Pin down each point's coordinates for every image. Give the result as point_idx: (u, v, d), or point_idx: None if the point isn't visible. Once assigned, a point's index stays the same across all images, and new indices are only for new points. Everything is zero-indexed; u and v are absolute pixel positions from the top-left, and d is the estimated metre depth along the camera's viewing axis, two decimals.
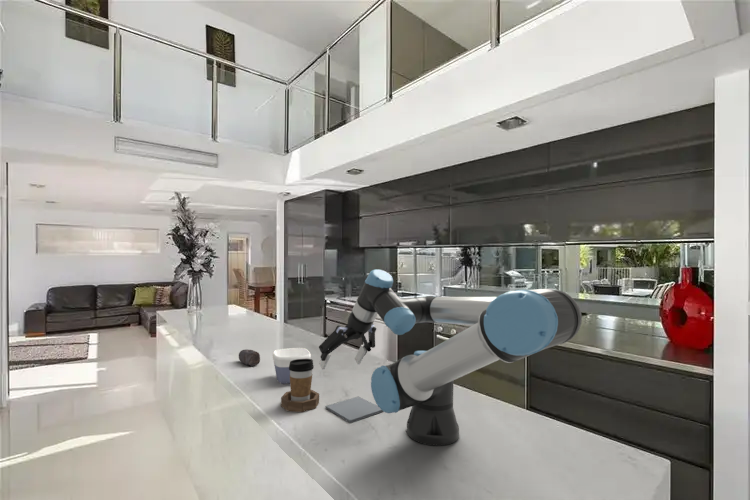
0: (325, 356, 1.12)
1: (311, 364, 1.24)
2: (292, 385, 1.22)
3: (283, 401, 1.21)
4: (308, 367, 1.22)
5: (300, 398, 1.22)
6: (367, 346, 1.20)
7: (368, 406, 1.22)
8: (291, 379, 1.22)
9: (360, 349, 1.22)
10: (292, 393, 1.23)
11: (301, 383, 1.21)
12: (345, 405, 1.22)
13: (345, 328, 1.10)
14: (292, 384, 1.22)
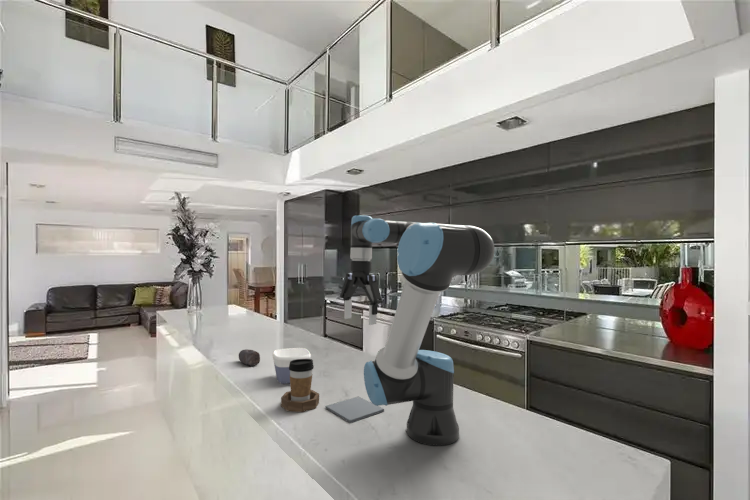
0: (345, 303, 1.32)
1: (311, 364, 1.24)
2: (292, 385, 1.22)
3: (283, 401, 1.21)
4: (308, 367, 1.22)
5: (300, 398, 1.22)
6: (370, 299, 1.21)
7: (368, 406, 1.22)
8: (291, 379, 1.22)
9: None
10: (292, 393, 1.23)
11: (301, 383, 1.21)
12: (345, 405, 1.22)
13: None
14: (292, 384, 1.22)
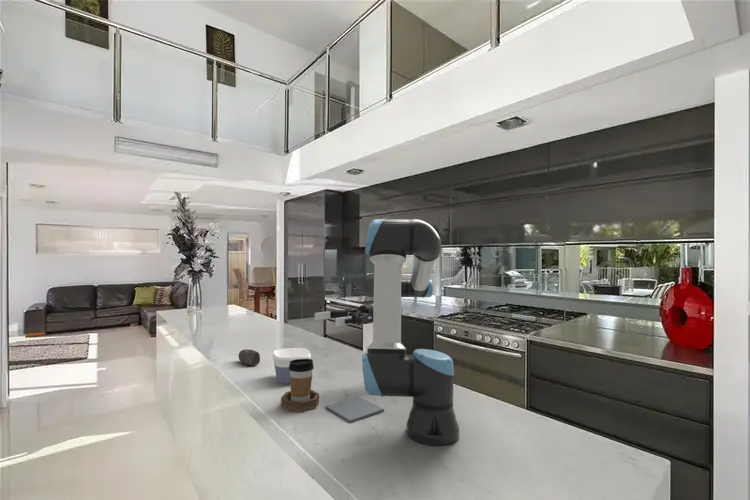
0: None
1: (311, 364, 1.24)
2: (292, 385, 1.22)
3: (283, 401, 1.21)
4: (308, 367, 1.22)
5: (300, 398, 1.22)
6: None
7: (368, 406, 1.22)
8: (291, 379, 1.22)
9: None
10: (292, 393, 1.23)
11: (301, 383, 1.21)
12: (345, 405, 1.22)
13: None
14: (292, 384, 1.22)
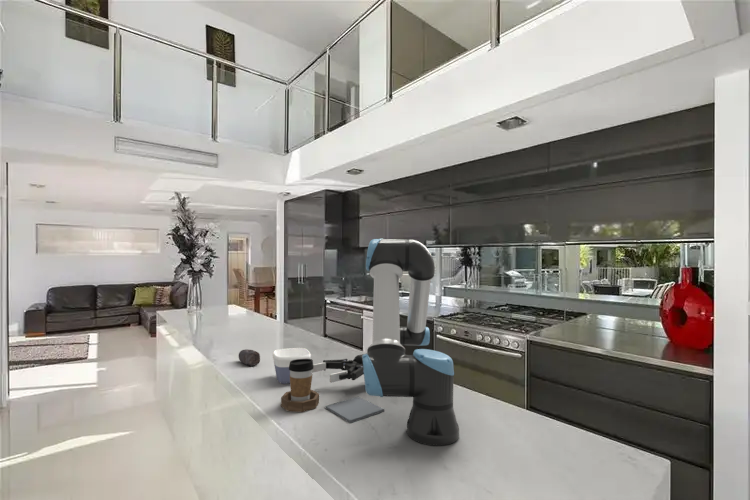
0: None
1: (311, 364, 1.24)
2: (292, 385, 1.22)
3: (283, 401, 1.21)
4: (308, 367, 1.22)
5: (300, 398, 1.22)
6: None
7: (368, 406, 1.22)
8: (291, 379, 1.22)
9: None
10: (292, 393, 1.23)
11: (301, 383, 1.21)
12: (345, 405, 1.22)
13: None
14: (292, 384, 1.22)
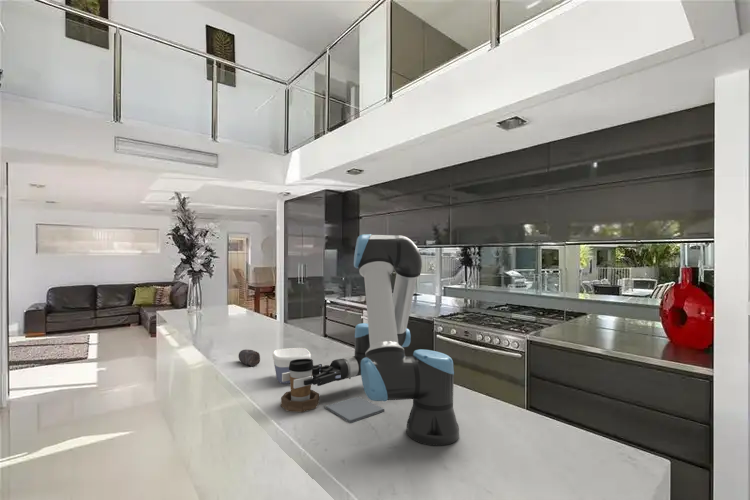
0: None
1: (311, 364, 1.24)
2: (292, 385, 1.22)
3: (283, 401, 1.21)
4: (308, 367, 1.22)
5: (300, 398, 1.22)
6: (317, 375, 1.24)
7: (368, 406, 1.22)
8: (291, 379, 1.22)
9: None
10: (292, 393, 1.23)
11: None
12: (345, 405, 1.22)
13: None
14: (292, 384, 1.22)
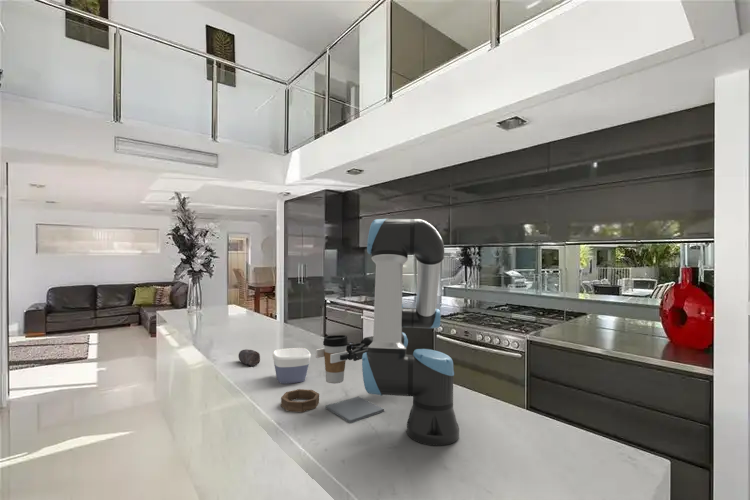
0: None
1: (346, 339, 1.22)
2: (327, 360, 1.20)
3: (283, 401, 1.21)
4: (344, 342, 1.21)
5: (335, 373, 1.20)
6: (352, 351, 1.23)
7: (368, 406, 1.22)
8: (326, 354, 1.21)
9: None
10: (327, 369, 1.21)
11: None
12: (345, 405, 1.22)
13: None
14: (327, 359, 1.20)
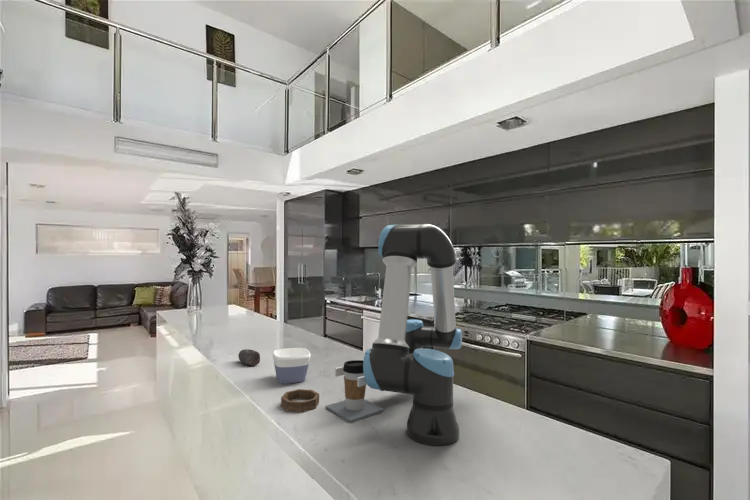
0: None
1: None
2: (347, 387, 1.19)
3: (283, 401, 1.21)
4: None
5: (355, 400, 1.18)
6: None
7: (368, 406, 1.22)
8: (346, 381, 1.19)
9: None
10: (347, 395, 1.19)
11: None
12: (345, 405, 1.22)
13: None
14: (347, 386, 1.19)
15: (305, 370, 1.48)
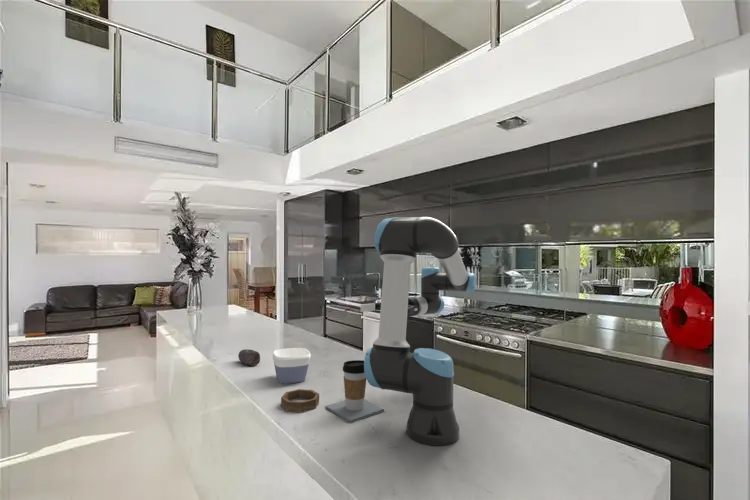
0: None
1: None
2: (347, 387, 1.19)
3: (283, 401, 1.21)
4: (363, 369, 1.19)
5: (355, 400, 1.18)
6: None
7: (368, 406, 1.22)
8: (346, 381, 1.19)
9: None
10: (347, 395, 1.19)
11: (357, 385, 1.18)
12: (345, 405, 1.22)
13: None
14: (347, 386, 1.19)
15: (305, 370, 1.48)
